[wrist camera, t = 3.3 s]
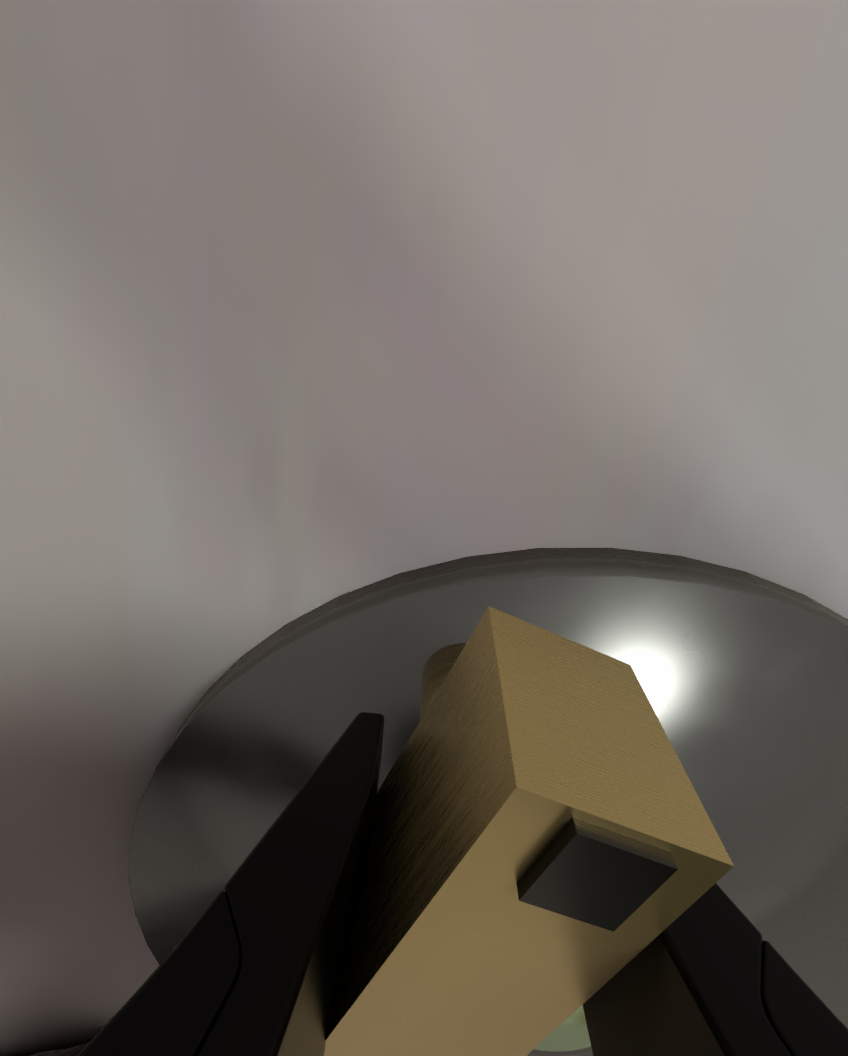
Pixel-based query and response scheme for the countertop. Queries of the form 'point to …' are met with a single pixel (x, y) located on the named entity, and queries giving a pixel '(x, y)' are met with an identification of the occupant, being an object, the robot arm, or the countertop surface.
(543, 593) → the levelling plate
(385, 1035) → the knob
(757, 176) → the countertop surface
